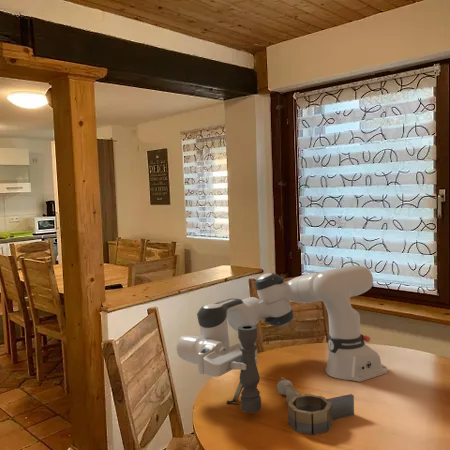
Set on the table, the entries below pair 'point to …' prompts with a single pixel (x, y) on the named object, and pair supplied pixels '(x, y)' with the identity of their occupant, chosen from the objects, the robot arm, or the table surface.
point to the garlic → (283, 386)
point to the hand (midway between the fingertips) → (251, 364)
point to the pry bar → (236, 395)
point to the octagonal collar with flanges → (316, 411)
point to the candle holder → (249, 370)
